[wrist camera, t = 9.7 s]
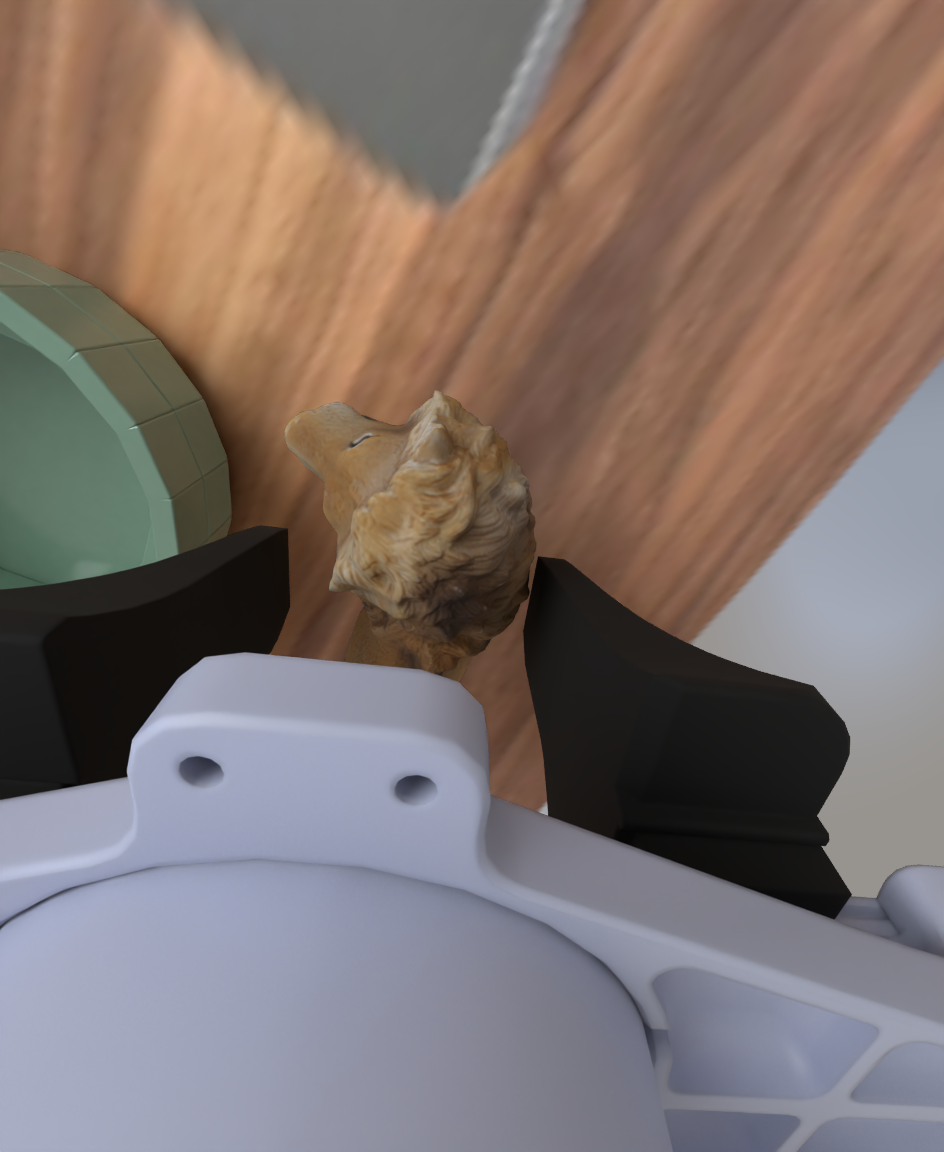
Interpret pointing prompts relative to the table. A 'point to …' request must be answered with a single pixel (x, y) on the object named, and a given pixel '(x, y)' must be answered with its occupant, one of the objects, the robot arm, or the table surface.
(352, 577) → the lion figurine
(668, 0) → the table surface
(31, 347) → the bowl
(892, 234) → the table surface
